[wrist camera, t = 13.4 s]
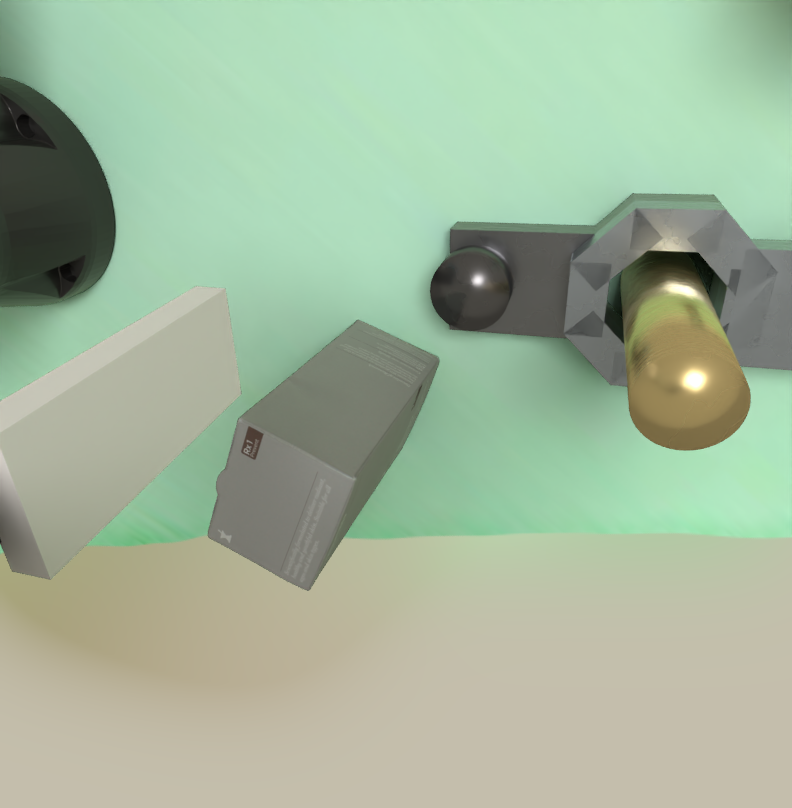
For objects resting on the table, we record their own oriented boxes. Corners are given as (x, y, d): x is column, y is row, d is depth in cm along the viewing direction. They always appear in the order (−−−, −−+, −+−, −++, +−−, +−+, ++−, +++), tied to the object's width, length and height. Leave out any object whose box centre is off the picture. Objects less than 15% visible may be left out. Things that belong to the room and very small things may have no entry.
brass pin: (615, 312, 37) (621, 443, 24) (625, 244, 35) (637, 347, 22) (689, 317, 36) (736, 456, 23) (703, 247, 34) (763, 357, 21)
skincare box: (403, 447, 45) (320, 607, 32) (316, 405, 46) (198, 545, 33) (446, 351, 41) (369, 491, 28) (349, 306, 41) (227, 422, 28)
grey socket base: (445, 343, 41) (430, 368, 37) (446, 190, 36) (429, 203, 33) (881, 378, 34) (911, 413, 31) (948, 198, 30) (992, 215, 26)
